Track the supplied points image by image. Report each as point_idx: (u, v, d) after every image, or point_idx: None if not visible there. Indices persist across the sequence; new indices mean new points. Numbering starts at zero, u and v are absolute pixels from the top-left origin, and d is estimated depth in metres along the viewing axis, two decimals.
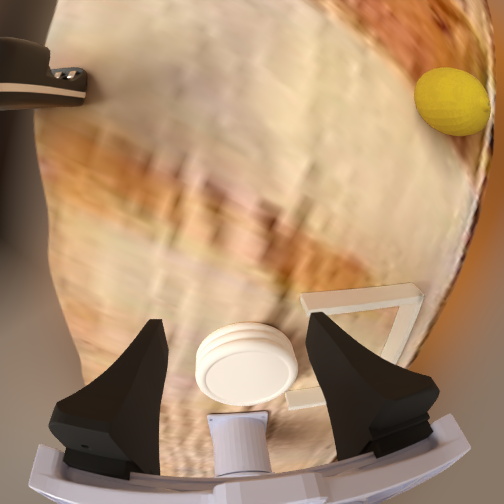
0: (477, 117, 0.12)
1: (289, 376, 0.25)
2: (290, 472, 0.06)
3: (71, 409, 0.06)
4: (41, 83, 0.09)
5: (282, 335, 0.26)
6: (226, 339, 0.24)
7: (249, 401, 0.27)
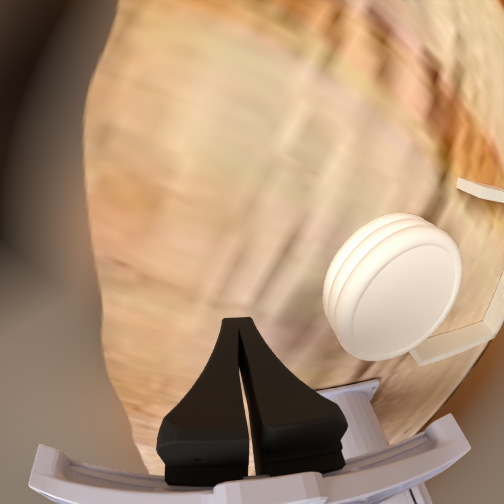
0: None
1: (451, 297, 0.15)
2: None
3: (189, 422, 0.06)
4: None
5: None
6: (393, 228, 0.14)
7: (394, 351, 0.17)
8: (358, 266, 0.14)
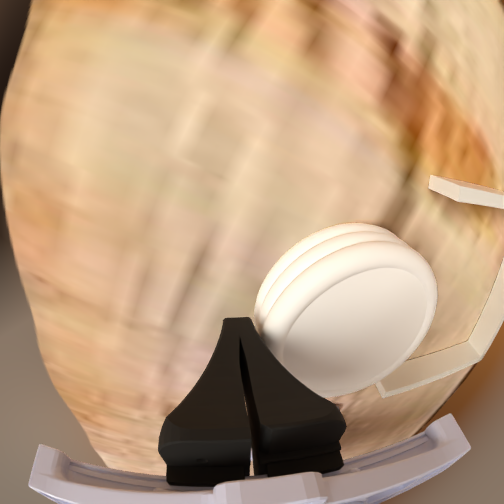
0: None
1: (422, 327, 0.13)
2: None
3: (191, 422, 0.06)
4: None
5: None
6: (335, 246, 0.11)
7: (347, 387, 0.14)
8: (282, 295, 0.11)
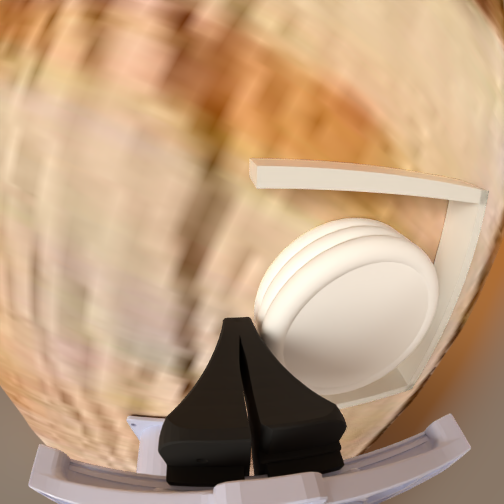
0: None
1: (426, 318, 0.13)
2: None
3: (191, 422, 0.06)
4: None
5: None
6: (327, 244, 0.11)
7: (354, 383, 0.14)
8: (276, 298, 0.11)
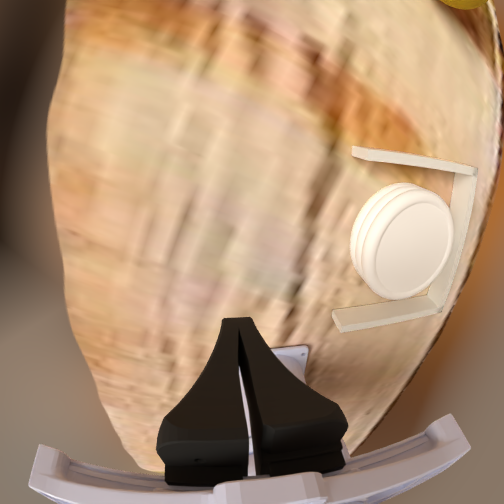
0: None
1: (448, 244, 0.20)
2: None
3: (189, 422, 0.06)
4: None
5: None
6: (395, 194, 0.19)
7: (410, 290, 0.22)
8: (373, 222, 0.19)
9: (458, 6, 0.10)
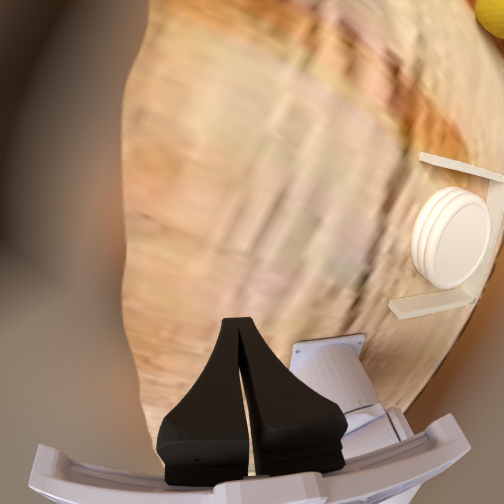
0: None
1: (486, 241, 0.21)
2: None
3: (189, 422, 0.06)
4: None
5: None
6: (452, 196, 0.20)
7: (456, 281, 0.22)
8: (437, 219, 0.19)
9: (501, 37, 0.11)
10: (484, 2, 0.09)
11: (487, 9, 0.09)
